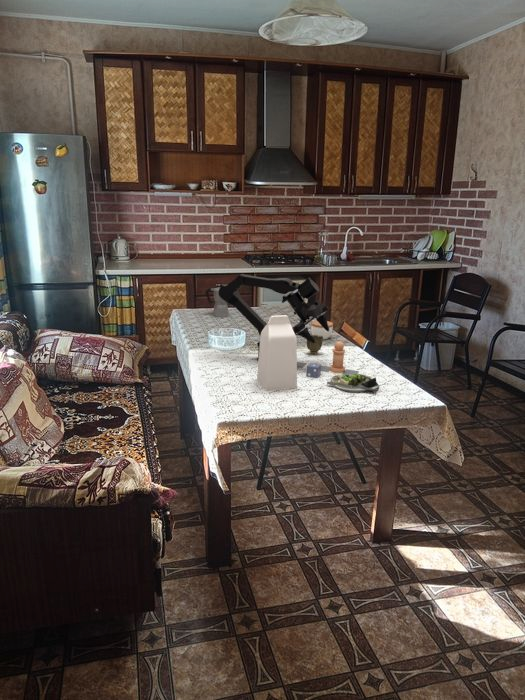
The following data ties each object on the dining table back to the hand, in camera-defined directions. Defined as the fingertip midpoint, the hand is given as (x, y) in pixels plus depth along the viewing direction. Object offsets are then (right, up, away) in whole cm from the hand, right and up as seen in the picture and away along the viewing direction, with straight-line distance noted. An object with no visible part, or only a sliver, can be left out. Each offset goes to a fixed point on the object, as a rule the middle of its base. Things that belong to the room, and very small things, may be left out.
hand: (321, 336), depth 218 cm
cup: (-1, -7, +21) cm, 22 cm away
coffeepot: (-49, +14, +87) cm, 100 cm away
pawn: (+6, -14, -1) cm, 15 cm away
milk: (-19, -18, -17) cm, 31 cm away
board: (+1, -13, +1) cm, 13 cm away
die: (-4, -16, -7) cm, 18 cm away
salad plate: (+11, -19, -16) cm, 27 cm away
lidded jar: (+5, 0, +47) cm, 47 cm away
